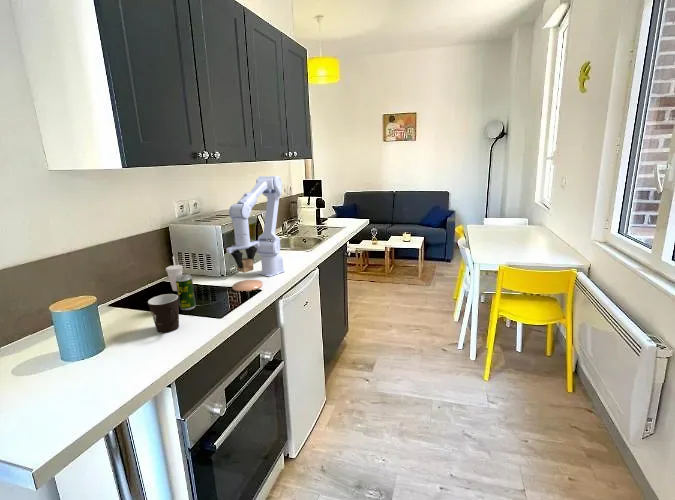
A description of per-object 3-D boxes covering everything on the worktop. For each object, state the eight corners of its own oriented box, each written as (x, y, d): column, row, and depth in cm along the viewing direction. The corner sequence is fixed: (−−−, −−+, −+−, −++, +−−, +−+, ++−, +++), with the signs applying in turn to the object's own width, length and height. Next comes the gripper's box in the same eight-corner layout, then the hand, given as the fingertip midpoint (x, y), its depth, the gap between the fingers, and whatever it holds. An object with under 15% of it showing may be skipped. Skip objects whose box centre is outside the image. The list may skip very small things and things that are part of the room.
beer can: (183, 305, 134) (178, 274, 131) (198, 304, 134) (193, 273, 131) (177, 311, 129) (172, 279, 126) (193, 310, 129) (188, 278, 126)
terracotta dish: (250, 280, 158) (250, 277, 158) (268, 285, 151) (268, 283, 151) (226, 288, 150) (226, 285, 149) (244, 294, 142) (244, 291, 142)
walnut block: (246, 268, 152) (245, 257, 151) (253, 269, 149) (252, 259, 148) (237, 270, 148) (236, 260, 147) (244, 272, 146) (243, 262, 144)
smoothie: (188, 286, 153) (184, 254, 150) (181, 292, 147) (175, 259, 143) (174, 286, 154) (169, 254, 150) (166, 292, 148) (160, 259, 144)
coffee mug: (153, 325, 118) (148, 297, 115) (182, 320, 121) (178, 292, 118) (151, 341, 107) (146, 310, 105) (183, 335, 111) (178, 304, 108)
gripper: (250, 229, 152) (254, 260, 156) (220, 236, 142) (224, 269, 145) (261, 231, 148) (264, 263, 151) (230, 238, 137) (234, 272, 141)
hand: (245, 266), depth 148 cm, fingers closed on walnut block, 4 cm apart
